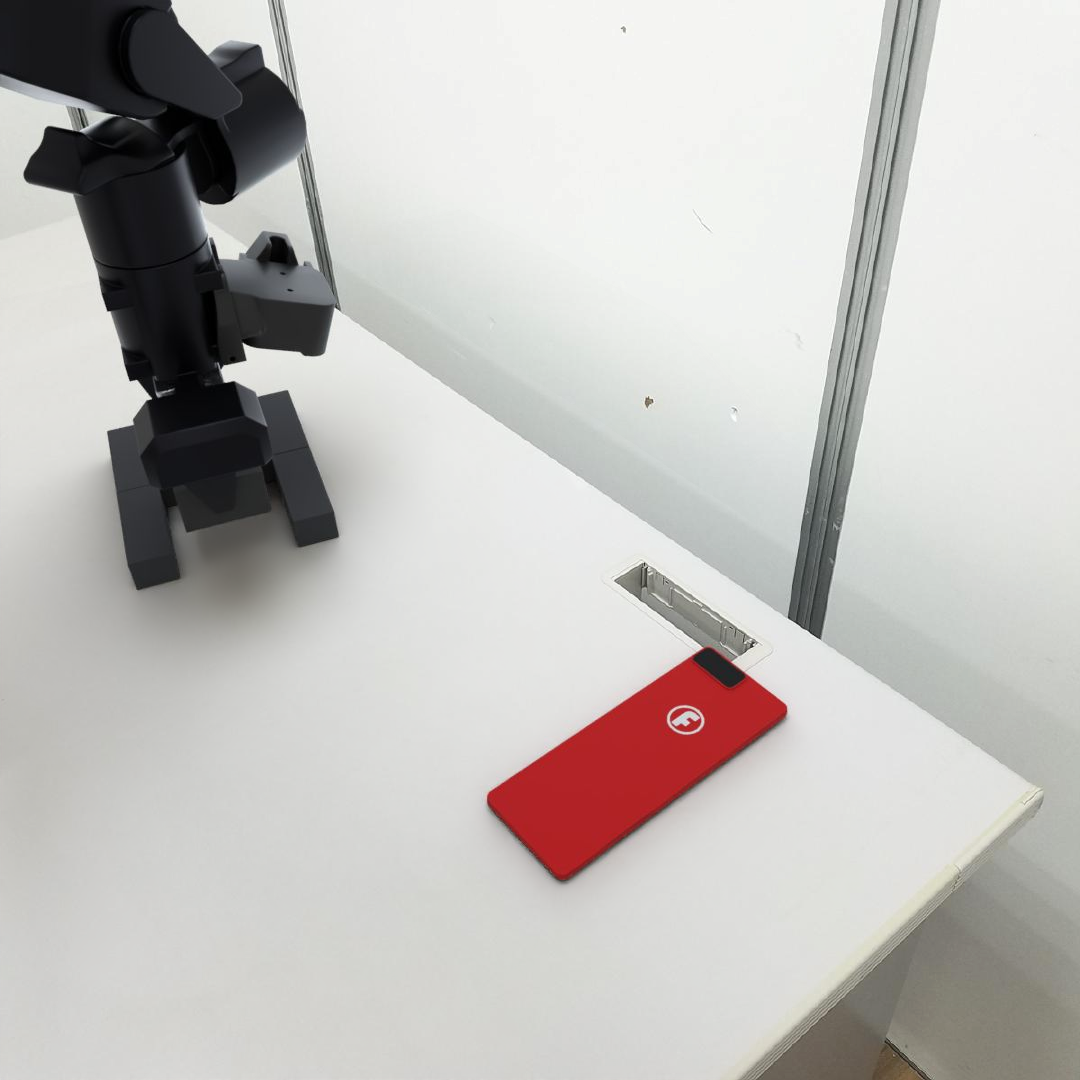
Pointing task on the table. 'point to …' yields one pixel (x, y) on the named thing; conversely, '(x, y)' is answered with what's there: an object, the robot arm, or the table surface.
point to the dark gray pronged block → (147, 505)
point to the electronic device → (634, 761)
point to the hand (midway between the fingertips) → (217, 484)
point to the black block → (247, 502)
